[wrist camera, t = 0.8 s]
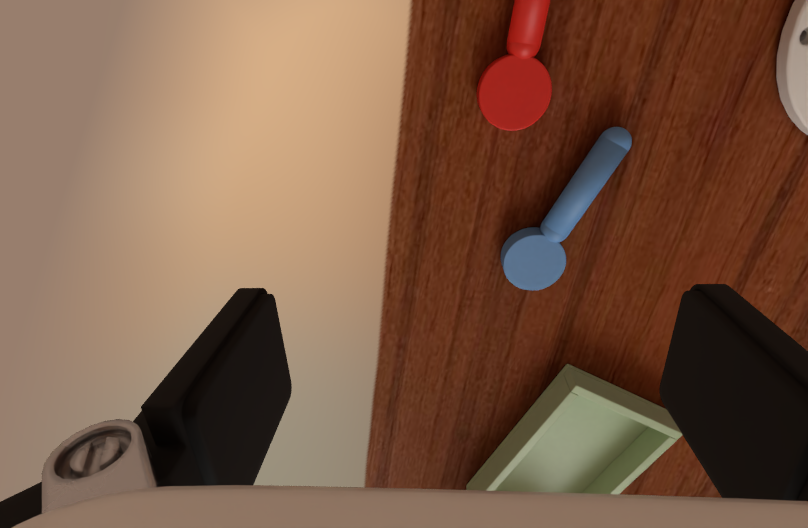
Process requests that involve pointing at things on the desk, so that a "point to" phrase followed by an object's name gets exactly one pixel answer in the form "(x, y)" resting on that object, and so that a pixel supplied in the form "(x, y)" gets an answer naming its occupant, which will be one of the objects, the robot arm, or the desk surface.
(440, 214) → the desk surface
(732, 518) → the robot arm
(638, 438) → the tray
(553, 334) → the desk surface
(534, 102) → the red spoon
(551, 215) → the blue spoon
